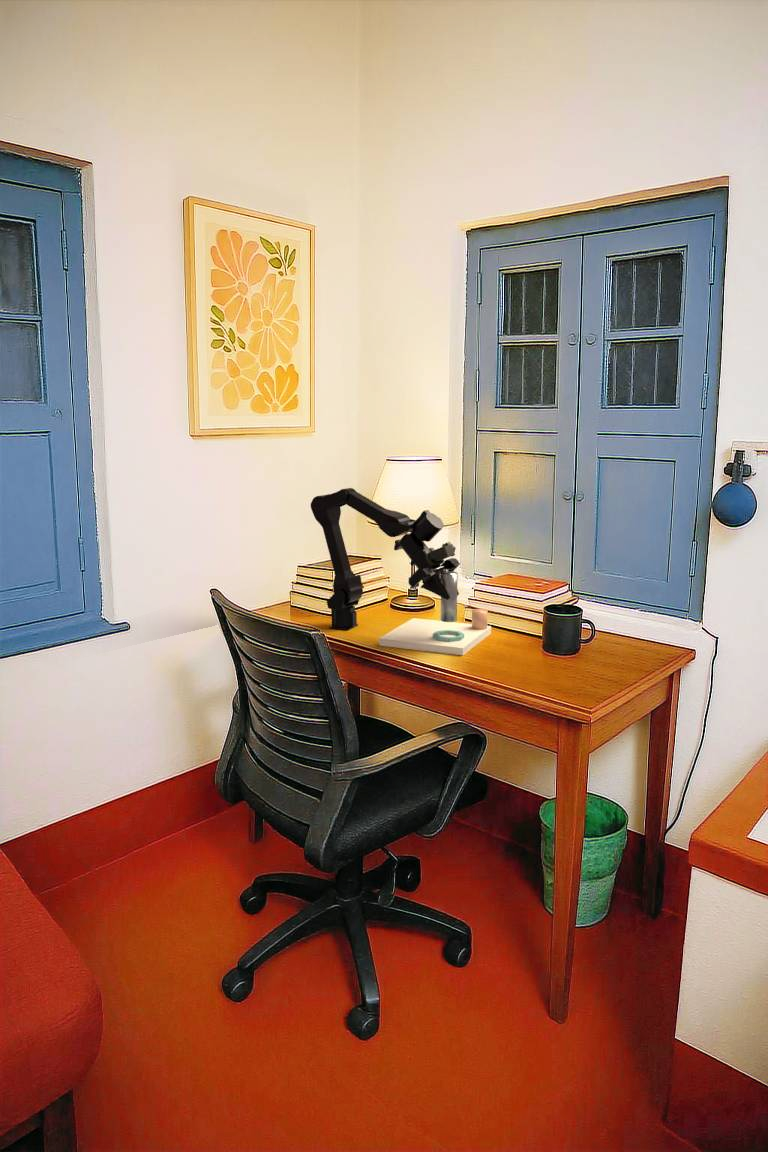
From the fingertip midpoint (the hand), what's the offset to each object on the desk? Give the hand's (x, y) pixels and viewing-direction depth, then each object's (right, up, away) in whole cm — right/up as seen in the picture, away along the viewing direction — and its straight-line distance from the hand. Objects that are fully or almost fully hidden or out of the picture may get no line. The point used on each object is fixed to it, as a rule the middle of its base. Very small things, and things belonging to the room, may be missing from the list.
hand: (453, 597), depth 235 cm
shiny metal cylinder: (-1, -6, +2) cm, 7 cm away
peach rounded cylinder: (+8, -9, +13) cm, 18 cm away
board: (-4, -12, +9) cm, 15 cm away
